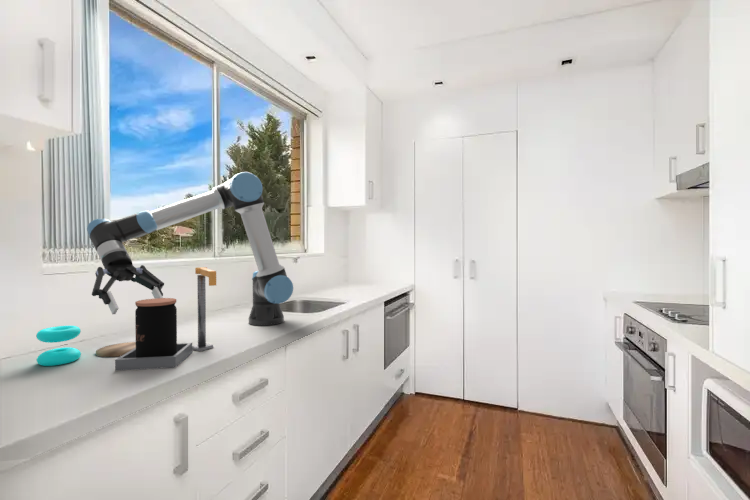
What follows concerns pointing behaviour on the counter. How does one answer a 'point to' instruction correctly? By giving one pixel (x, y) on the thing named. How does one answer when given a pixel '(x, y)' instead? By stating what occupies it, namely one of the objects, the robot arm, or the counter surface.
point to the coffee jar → (156, 327)
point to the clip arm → (207, 274)
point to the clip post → (201, 316)
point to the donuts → (58, 354)
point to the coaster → (115, 349)
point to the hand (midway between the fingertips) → (140, 308)
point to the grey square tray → (153, 359)
